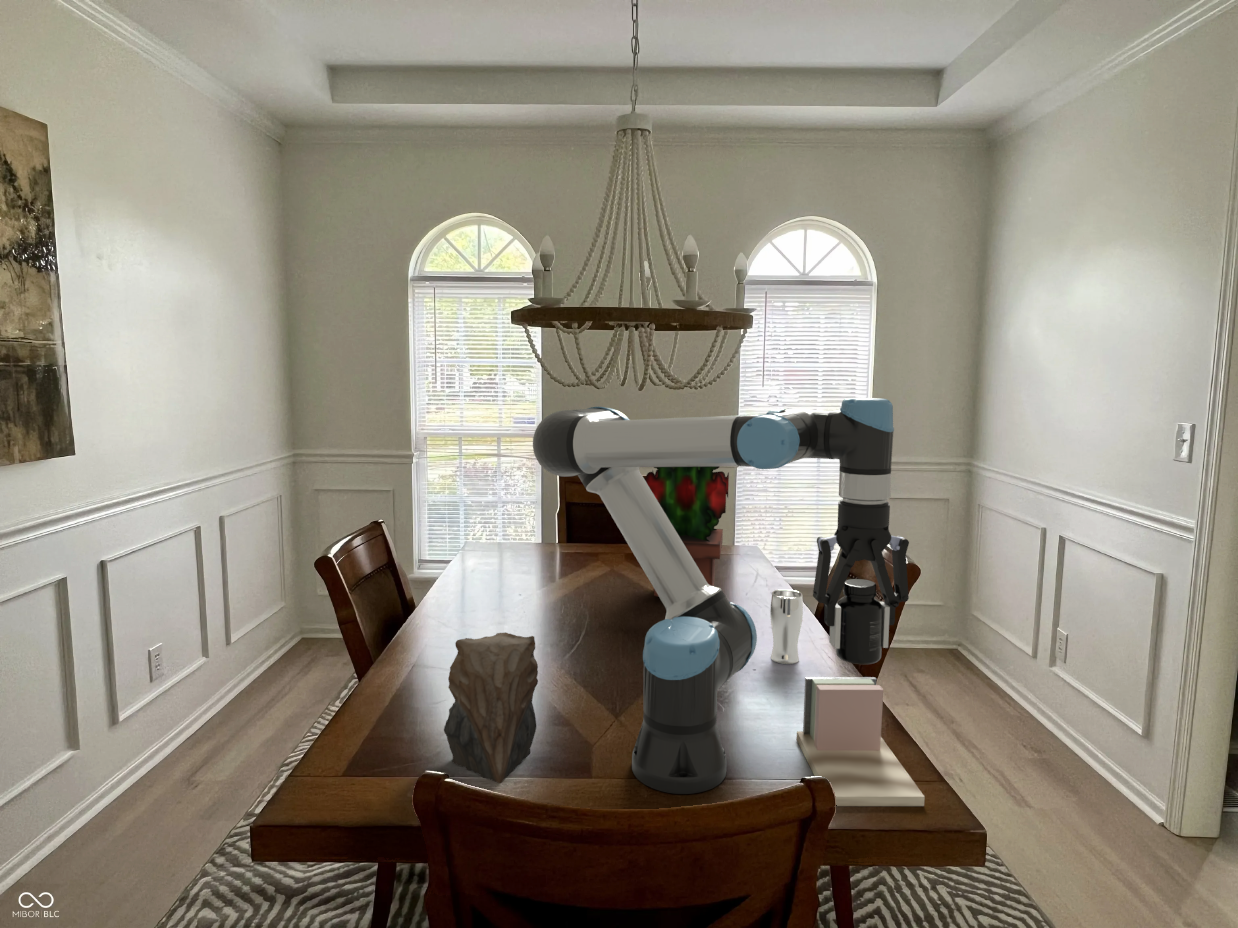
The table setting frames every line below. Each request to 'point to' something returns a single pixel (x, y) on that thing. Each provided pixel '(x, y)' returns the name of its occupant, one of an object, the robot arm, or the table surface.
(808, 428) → the robot arm
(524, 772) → the table surface
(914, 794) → the shelf board
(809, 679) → the bookend
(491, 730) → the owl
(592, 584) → the table surface
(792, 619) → the beer glass
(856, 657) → the supplement bottle
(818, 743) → the book row
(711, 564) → the potted plant
